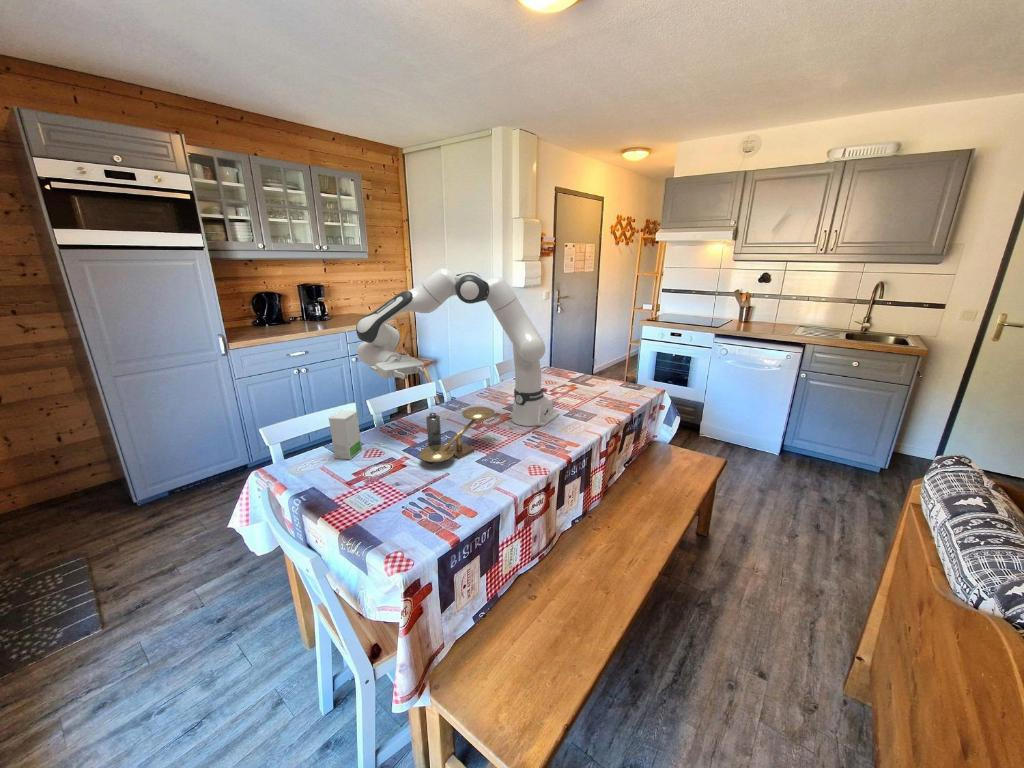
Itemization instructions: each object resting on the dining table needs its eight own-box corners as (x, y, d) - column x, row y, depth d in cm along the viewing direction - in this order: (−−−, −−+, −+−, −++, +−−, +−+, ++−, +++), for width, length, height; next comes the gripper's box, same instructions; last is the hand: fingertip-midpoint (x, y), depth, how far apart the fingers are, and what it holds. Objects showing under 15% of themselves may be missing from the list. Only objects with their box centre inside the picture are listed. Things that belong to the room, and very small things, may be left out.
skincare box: (350, 460, 144) (344, 419, 139) (333, 458, 145) (327, 417, 141) (362, 449, 152) (357, 410, 147) (346, 448, 153) (341, 409, 149)
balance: (480, 433, 165) (479, 404, 161) (501, 442, 157) (500, 411, 153) (412, 462, 142) (409, 429, 138) (434, 474, 134) (431, 439, 131)
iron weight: (436, 440, 159) (433, 410, 156) (444, 444, 156) (442, 413, 152) (425, 444, 156) (423, 413, 152) (433, 448, 153) (431, 417, 149)
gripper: (368, 358, 149) (394, 370, 142) (410, 353, 166) (434, 364, 159) (366, 374, 151) (392, 387, 144) (408, 367, 168) (432, 379, 161)
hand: (414, 375), depth 152 cm, fingers open, 8 cm apart
